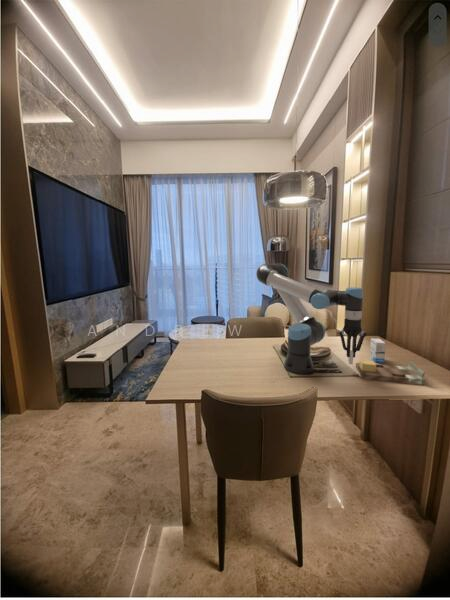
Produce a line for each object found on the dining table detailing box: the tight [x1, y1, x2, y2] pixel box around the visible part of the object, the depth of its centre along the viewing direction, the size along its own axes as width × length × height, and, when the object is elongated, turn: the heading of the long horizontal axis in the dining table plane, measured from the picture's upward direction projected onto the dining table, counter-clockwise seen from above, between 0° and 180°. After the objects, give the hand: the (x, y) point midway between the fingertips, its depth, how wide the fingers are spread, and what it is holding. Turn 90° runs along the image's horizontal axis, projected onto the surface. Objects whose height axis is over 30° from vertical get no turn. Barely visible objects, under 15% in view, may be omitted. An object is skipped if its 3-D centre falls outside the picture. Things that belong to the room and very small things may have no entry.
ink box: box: [369, 338, 386, 364], centre depth 141 cm, size 9×5×12 cm, turn 168°
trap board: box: [355, 360, 425, 386], centre depth 122 cm, size 25×14×6 cm, turn 75°
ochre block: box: [359, 359, 377, 372], centre depth 125 cm, size 6×5×4 cm
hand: (350, 363), depth 126 cm, fingers closed
